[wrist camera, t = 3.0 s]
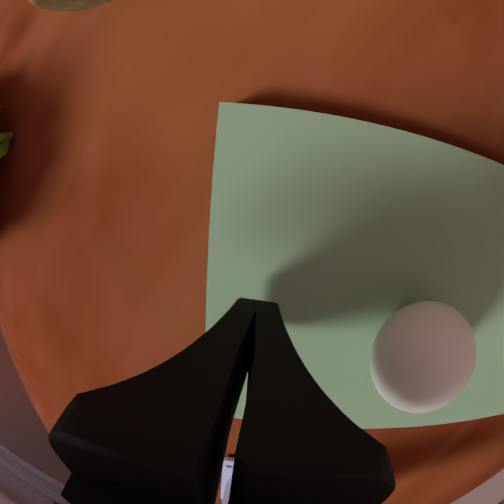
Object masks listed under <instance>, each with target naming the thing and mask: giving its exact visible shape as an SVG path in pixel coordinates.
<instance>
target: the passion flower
mask: <svg viewBox="0 0 504 504" xmlns="http://www.w3.org/2000/svg"><path fill="white" fill-rule="evenodd" d="M0 109H2V107H1V106H0ZM13 134H14V133H13V132H5V133H0V159H1V158H2V157H3V156H4V155H6V154H7V152H8V148H9V143H10V140H11V139H13Z"/></svg>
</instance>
